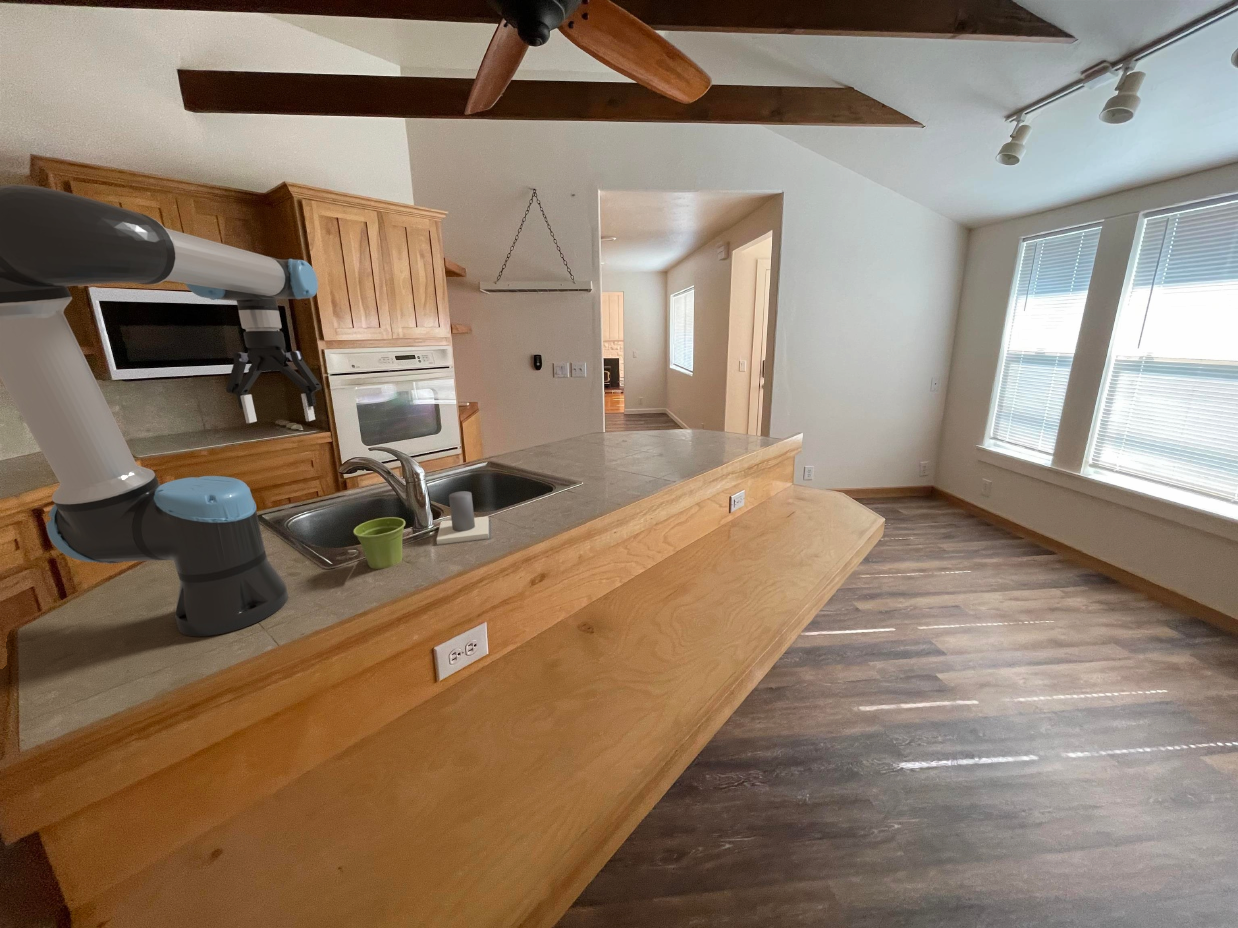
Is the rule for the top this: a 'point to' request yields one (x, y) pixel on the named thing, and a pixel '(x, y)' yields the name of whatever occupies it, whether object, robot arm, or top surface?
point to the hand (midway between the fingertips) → (281, 421)
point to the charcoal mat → (468, 541)
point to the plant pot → (381, 541)
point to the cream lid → (462, 521)
